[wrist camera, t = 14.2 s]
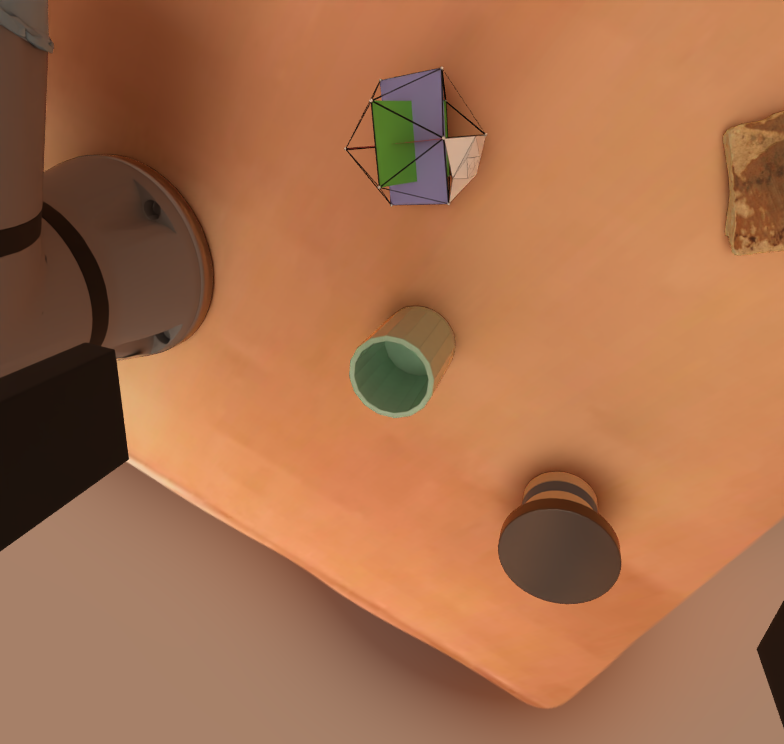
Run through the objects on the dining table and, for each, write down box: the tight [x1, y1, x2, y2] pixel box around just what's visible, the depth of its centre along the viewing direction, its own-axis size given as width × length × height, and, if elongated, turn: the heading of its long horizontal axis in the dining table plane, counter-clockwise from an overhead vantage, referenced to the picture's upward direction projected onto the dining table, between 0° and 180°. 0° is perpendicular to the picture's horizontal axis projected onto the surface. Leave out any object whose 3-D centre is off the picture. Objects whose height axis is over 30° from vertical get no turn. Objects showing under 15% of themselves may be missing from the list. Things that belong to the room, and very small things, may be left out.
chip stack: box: [522, 472, 598, 513], centre depth 38 cm, size 5×5×5 cm
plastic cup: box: [349, 306, 455, 418], centre depth 36 cm, size 5×5×6 cm
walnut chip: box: [498, 498, 621, 604], centre depth 35 cm, size 8×8×1 cm
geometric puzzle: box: [344, 66, 487, 207], centre depth 30 cm, size 7×7×8 cm
